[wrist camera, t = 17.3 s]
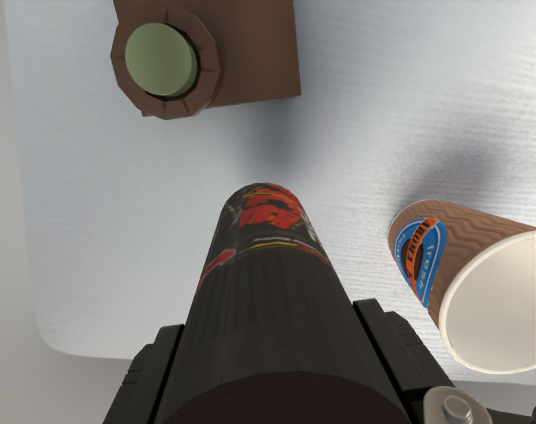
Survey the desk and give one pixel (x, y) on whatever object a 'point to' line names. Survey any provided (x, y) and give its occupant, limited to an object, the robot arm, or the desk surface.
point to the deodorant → (274, 329)
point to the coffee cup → (472, 281)
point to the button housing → (216, 52)
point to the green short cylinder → (160, 60)
